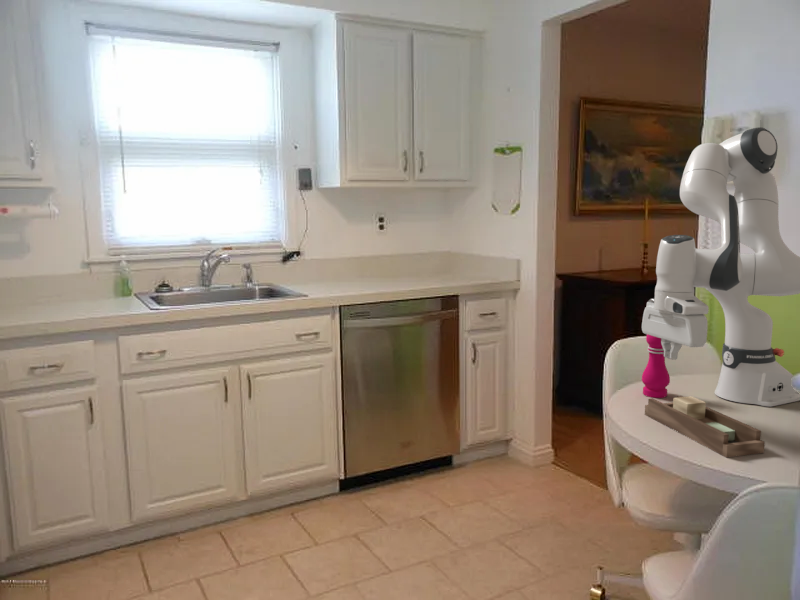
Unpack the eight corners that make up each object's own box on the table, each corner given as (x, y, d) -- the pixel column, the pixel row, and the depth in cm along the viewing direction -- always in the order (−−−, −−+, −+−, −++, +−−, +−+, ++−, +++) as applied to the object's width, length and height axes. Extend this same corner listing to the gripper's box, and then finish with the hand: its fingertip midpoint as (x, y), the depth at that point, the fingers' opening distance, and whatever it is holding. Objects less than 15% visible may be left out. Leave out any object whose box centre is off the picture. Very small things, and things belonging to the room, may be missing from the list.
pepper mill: (637, 390, 184) (640, 321, 181) (663, 390, 184) (667, 321, 181) (646, 398, 177) (649, 326, 174) (673, 398, 177) (677, 326, 174)
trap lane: (677, 411, 166) (678, 394, 166) (763, 452, 139) (765, 432, 138) (644, 414, 164) (645, 397, 163) (726, 457, 137) (727, 437, 136)
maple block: (690, 412, 158) (691, 396, 157) (704, 418, 153) (705, 402, 153) (672, 413, 157) (673, 397, 156) (686, 420, 152) (687, 404, 151)
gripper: (636, 297, 167) (634, 350, 169) (690, 308, 148) (686, 368, 149) (658, 297, 169) (655, 349, 171) (714, 307, 149) (710, 367, 151)
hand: (670, 358), depth 160 cm, fingers closed
